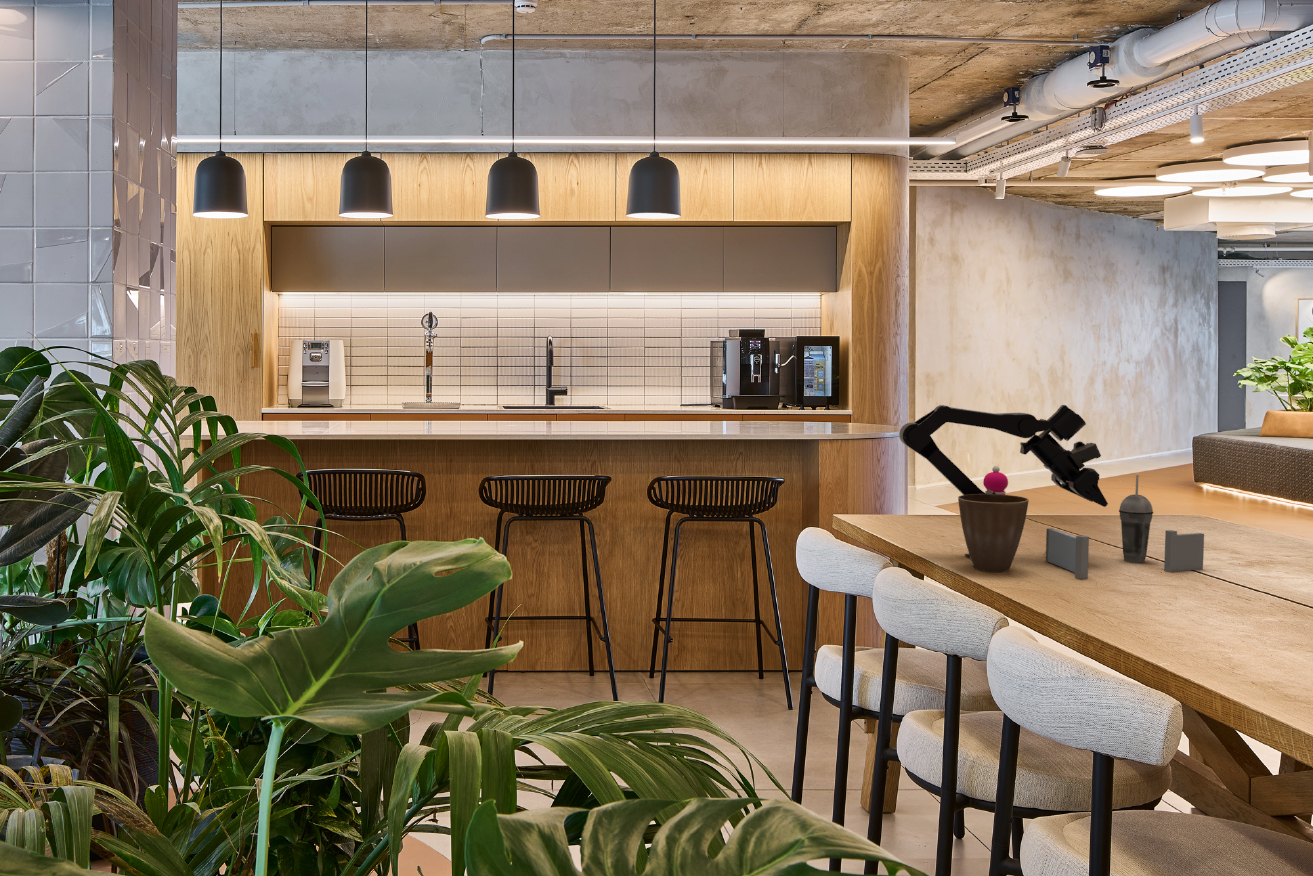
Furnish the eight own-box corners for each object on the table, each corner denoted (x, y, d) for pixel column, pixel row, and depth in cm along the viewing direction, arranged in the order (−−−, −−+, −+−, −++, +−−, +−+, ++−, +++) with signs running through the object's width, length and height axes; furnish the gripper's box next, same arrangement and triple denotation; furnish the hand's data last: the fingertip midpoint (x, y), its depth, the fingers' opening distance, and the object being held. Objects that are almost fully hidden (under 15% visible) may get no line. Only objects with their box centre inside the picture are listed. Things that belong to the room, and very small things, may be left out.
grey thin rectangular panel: (1088, 575, 218) (1089, 541, 217) (1081, 575, 218) (1083, 541, 217) (1051, 560, 235) (1052, 528, 235) (1045, 560, 235) (1046, 528, 235)
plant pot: (1031, 577, 217) (1033, 503, 216) (959, 574, 220) (961, 501, 219) (1021, 564, 232) (1023, 494, 231) (953, 561, 235) (955, 493, 234)
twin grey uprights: (1080, 579, 215) (1082, 537, 215) (1074, 577, 217) (1076, 535, 216) (1204, 569, 226) (1205, 529, 225) (1197, 568, 228) (1198, 528, 227)
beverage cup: (1116, 562, 235) (1118, 476, 233) (1118, 557, 241) (1120, 473, 240) (1151, 565, 231) (1154, 477, 230) (1152, 559, 238) (1155, 474, 236)
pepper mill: (1013, 546, 256) (1015, 467, 255) (984, 546, 256) (986, 467, 255) (1003, 541, 263) (1005, 464, 262) (975, 541, 263) (977, 464, 262)
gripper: (1091, 433, 226) (1141, 483, 226) (1066, 428, 245) (1112, 475, 244) (1053, 467, 228) (1102, 517, 227) (1031, 460, 246) (1077, 506, 246)
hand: (1099, 502), depth 236 cm, fingers open, 9 cm apart
